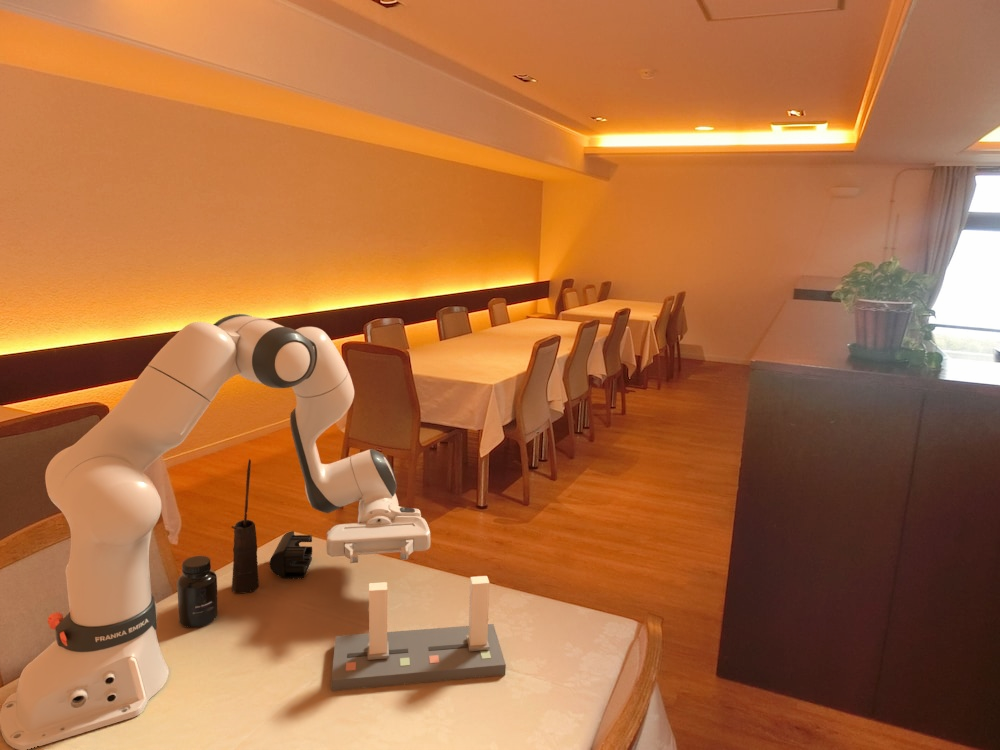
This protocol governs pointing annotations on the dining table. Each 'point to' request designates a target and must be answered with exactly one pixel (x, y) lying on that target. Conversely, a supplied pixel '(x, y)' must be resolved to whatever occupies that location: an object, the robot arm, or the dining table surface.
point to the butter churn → (245, 552)
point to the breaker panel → (414, 658)
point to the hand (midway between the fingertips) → (379, 557)
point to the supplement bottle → (197, 593)
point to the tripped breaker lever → (378, 621)
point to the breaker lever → (478, 614)
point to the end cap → (291, 556)
